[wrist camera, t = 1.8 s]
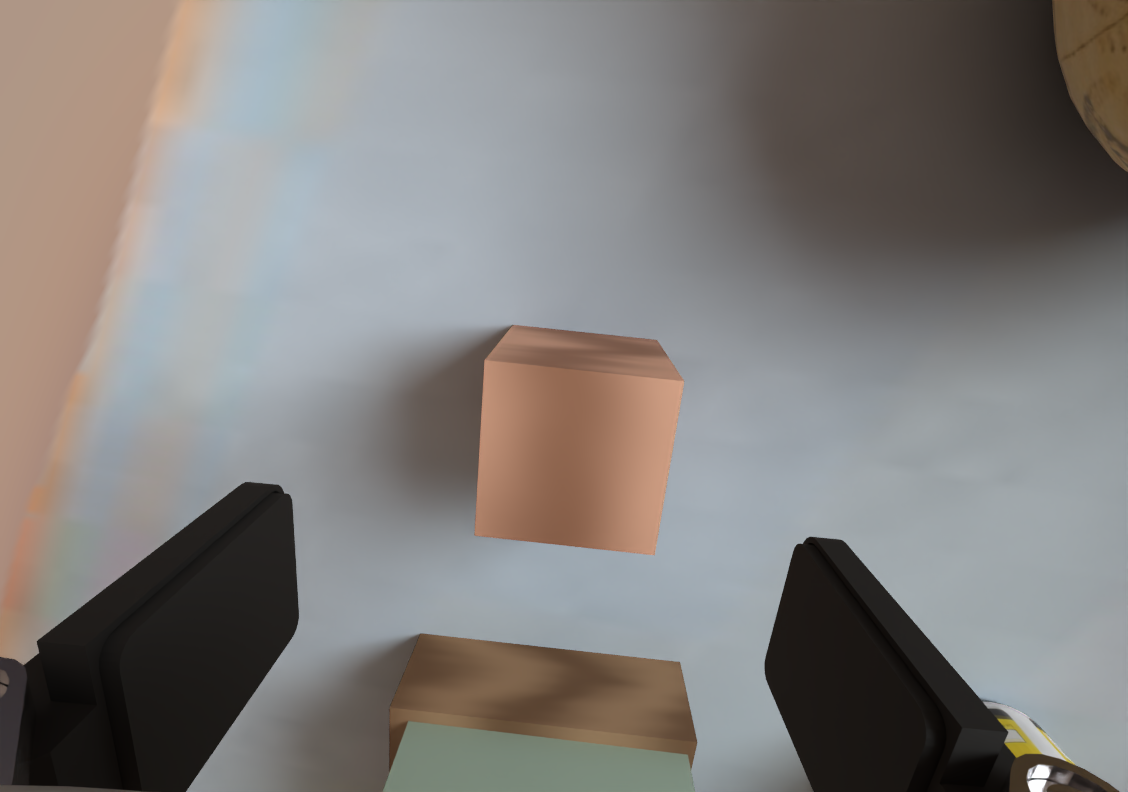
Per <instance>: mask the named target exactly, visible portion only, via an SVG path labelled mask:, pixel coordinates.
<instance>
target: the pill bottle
mask: <svg viewBox="0 0 1128 792" xmlns="http://www.w3.org/2000/svg"><path fill="white" fill-rule="evenodd" d="M982 702H983V701H982ZM983 703H984V704H985V705H986V706H987V708H988V709H989V710H990V711H991V712H992V713H993V715H994V716H995V717H996V718H997V719H998V720H999V722H1000V723H1001V724H1002V725H1003V726H1004V727H1005V729H1006V730H1007V731H1008V732H1009V733H1008V735H1007V737H1006V739H1005V742H1004V743H1005V745H1006V746H1007V747H1008V748H1009V749H1010V751H1011V752H1012V753H1013V754H1014V755H1015V757H1016V758H1017V757H1019V756H1022V755H1024V754H1044V755H1047V756H1051V757H1055V758H1059V759H1062V760H1064V761H1067V762H1069V763H1071V764H1074V763H1073V762H1072V761H1071V760H1070V759H1069V758H1068V757H1067V756H1066V754H1065V753H1064V752H1063V751H1062V750H1061V749H1060V748H1059V747H1058V746H1057V745H1056V743H1055V742H1054V741H1053V740H1052V739H1051V738H1050V737H1049V736H1048V735H1047V734H1046V733H1045V732H1044V731H1043V730H1042V728H1041V727H1040V726H1039V725H1037V724H1036V723H1035V722H1034V721H1033V720H1032V719H1031V718H1029V717H1028V716H1027V715H1025V714H1024V713H1022V712H1020V711H1018V710H1016V709H1014V708H1011V707H1009V706H1006V705H1003V704H998V703H993V702H983ZM1074 765H1075V764H1074Z"/></svg>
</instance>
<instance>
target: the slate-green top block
mask: <svg viewBox="0 0 1128 792" xmlns="http://www.w3.org/2000/svg"><path fill="white" fill-rule="evenodd" d="M383 792H695V789H694V784H693V779H692V774H691V769H690V763H689V758H688V755H686V754H678V753H670V752H661V751H653V750H645V749H636V748H628V747H620V746H612V745H603V744H595V743H587V742H578V741H570V740H562V739H554V738H545V737H537V736H529V735H521V734H512V733H504V732H496V731H487V730H479V729H470V728H462V727H454V726H445V725H437V724H429V723H420V722H412V721H408V723H407V726H406V729H405V732H404V734H403V737H402V740H401V743H400V745H399V748H398V751H397V754H396V756H395V759H394V762H393V765H392V767H391V770H390V773H389V776H388V778H387V781H386V784H385V787H384V789H383Z"/></svg>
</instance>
